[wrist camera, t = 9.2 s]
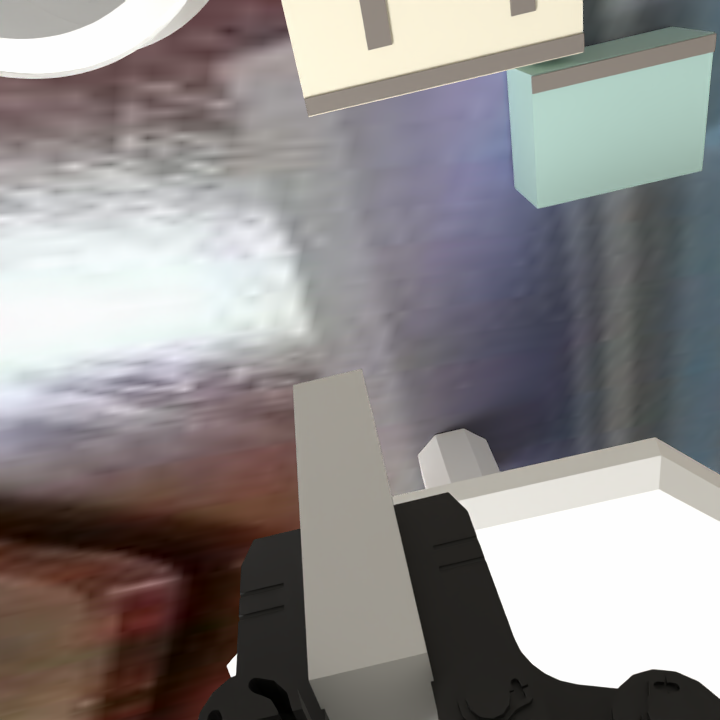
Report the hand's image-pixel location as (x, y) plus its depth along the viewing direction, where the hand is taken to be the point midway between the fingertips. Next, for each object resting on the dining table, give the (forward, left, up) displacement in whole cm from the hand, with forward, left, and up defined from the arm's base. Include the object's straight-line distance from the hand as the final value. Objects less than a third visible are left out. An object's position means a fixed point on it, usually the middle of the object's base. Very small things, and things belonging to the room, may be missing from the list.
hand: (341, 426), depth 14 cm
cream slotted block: (+7, +7, -21) cm, 23 cm away
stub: (+14, 0, -21) cm, 25 cm away
